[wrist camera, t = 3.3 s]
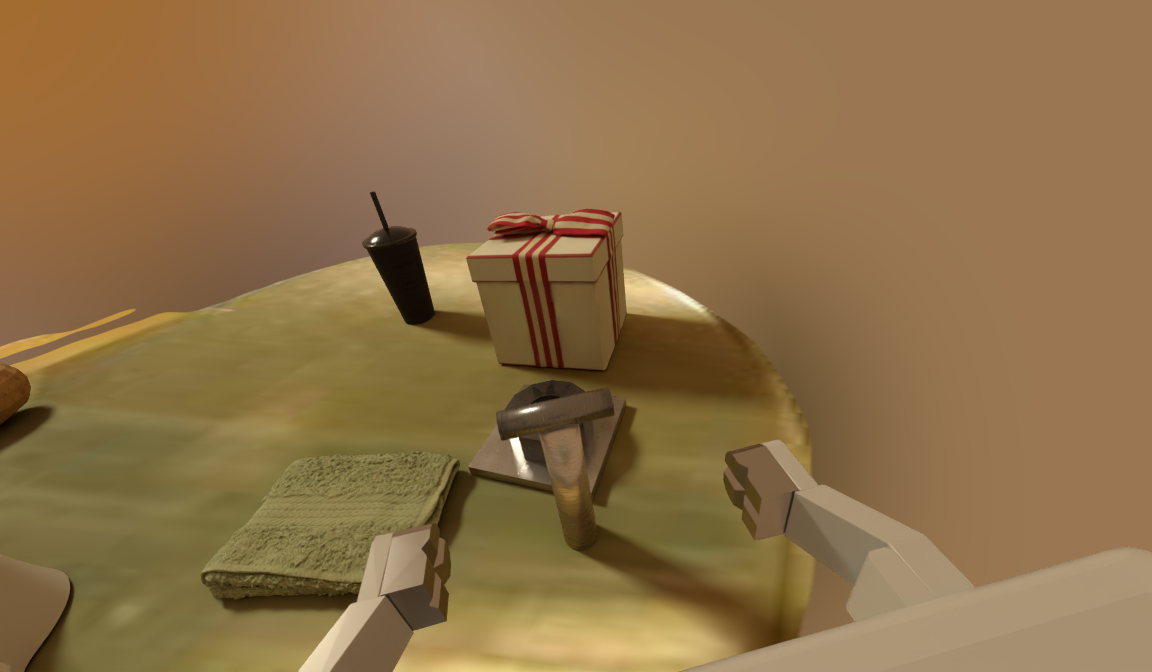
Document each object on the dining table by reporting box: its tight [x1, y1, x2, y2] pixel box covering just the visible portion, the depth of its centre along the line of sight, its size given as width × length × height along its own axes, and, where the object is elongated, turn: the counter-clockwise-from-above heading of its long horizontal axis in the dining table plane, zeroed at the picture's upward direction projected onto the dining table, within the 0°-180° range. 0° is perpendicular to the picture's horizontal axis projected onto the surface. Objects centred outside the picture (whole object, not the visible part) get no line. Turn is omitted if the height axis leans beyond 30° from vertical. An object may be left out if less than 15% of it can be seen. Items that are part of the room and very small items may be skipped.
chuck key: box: [496, 387, 614, 550], centre depth 29 cm, size 7×3×14 cm, turn 100°
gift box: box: [466, 209, 627, 370], centre depth 54 cm, size 17×18×17 cm
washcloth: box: [201, 451, 460, 600], centre depth 36 cm, size 13×18×3 cm
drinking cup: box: [362, 192, 435, 324], centre depth 63 cm, size 8×8×20 cm
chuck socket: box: [468, 380, 626, 501], centre depth 40 cm, size 12×12×4 cm
